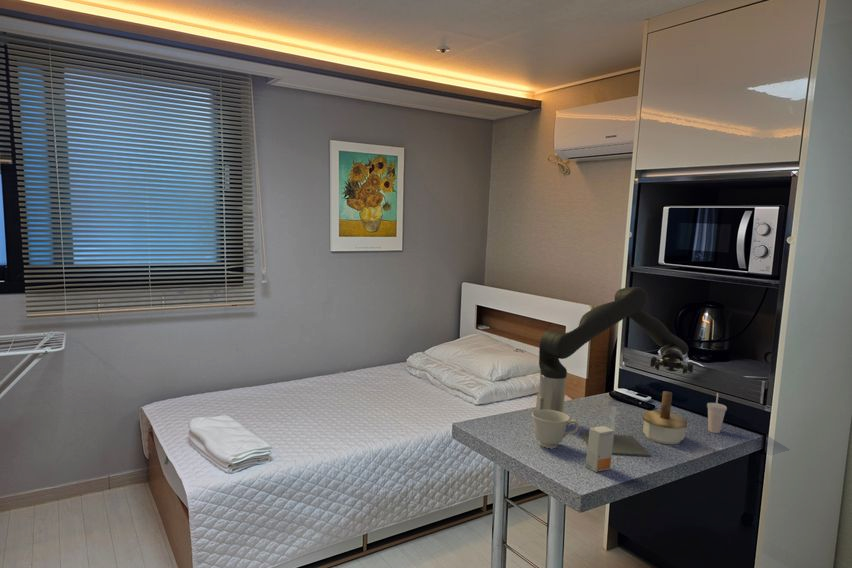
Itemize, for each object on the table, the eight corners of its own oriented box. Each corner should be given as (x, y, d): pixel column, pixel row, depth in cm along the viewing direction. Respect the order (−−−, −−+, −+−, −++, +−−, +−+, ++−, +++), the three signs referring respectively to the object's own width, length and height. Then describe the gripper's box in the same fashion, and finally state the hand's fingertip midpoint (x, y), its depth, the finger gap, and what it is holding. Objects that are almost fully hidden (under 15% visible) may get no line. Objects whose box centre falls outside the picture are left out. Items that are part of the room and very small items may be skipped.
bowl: (652, 444, 186) (654, 426, 185) (638, 430, 198) (640, 414, 197) (688, 446, 186) (690, 428, 185) (672, 432, 198) (674, 416, 197)
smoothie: (719, 428, 205) (723, 391, 203) (727, 435, 198) (731, 397, 197) (701, 427, 205) (705, 390, 204) (708, 433, 199) (712, 395, 197)
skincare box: (595, 473, 160) (599, 432, 159) (585, 466, 164) (588, 427, 163) (611, 469, 163) (615, 430, 162) (600, 463, 167) (604, 425, 166)
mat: (593, 453, 175) (593, 451, 174) (579, 434, 190) (579, 432, 190) (650, 456, 175) (650, 454, 175) (631, 437, 191) (632, 435, 190)
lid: (652, 427, 184) (655, 397, 183) (636, 413, 198) (639, 385, 197) (694, 429, 184) (697, 400, 183) (675, 415, 198) (678, 387, 197)
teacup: (574, 457, 170) (577, 426, 169) (526, 448, 175) (528, 417, 174) (578, 444, 182) (581, 414, 181) (532, 435, 187) (535, 406, 186)
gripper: (653, 347, 215) (650, 355, 201) (694, 352, 209) (694, 361, 194) (651, 365, 216) (648, 376, 201) (692, 371, 210) (691, 382, 195)
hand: (670, 369), depth 198 cm, fingers open, 8 cm apart
